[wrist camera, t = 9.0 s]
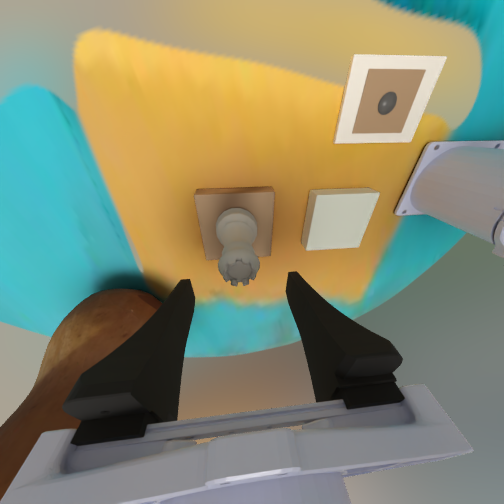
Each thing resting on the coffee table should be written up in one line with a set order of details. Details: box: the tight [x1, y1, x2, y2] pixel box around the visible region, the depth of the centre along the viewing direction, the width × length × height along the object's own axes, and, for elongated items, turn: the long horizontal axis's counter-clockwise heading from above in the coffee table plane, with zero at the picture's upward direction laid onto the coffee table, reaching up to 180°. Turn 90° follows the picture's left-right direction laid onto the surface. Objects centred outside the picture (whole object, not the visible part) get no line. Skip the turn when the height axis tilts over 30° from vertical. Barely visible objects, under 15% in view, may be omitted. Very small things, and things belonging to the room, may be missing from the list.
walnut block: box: [194, 187, 275, 260], centre depth 21 cm, size 8×8×2 cm
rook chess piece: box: [216, 208, 260, 286], centre depth 17 cm, size 4×4×8 cm
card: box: [333, 54, 447, 143], centre depth 16 cm, size 8×6×1 cm
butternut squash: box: [0, 289, 163, 501], centre depth 18 cm, size 14×13×25 cm
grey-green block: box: [301, 188, 380, 251], centre depth 22 cm, size 7×7×2 cm
